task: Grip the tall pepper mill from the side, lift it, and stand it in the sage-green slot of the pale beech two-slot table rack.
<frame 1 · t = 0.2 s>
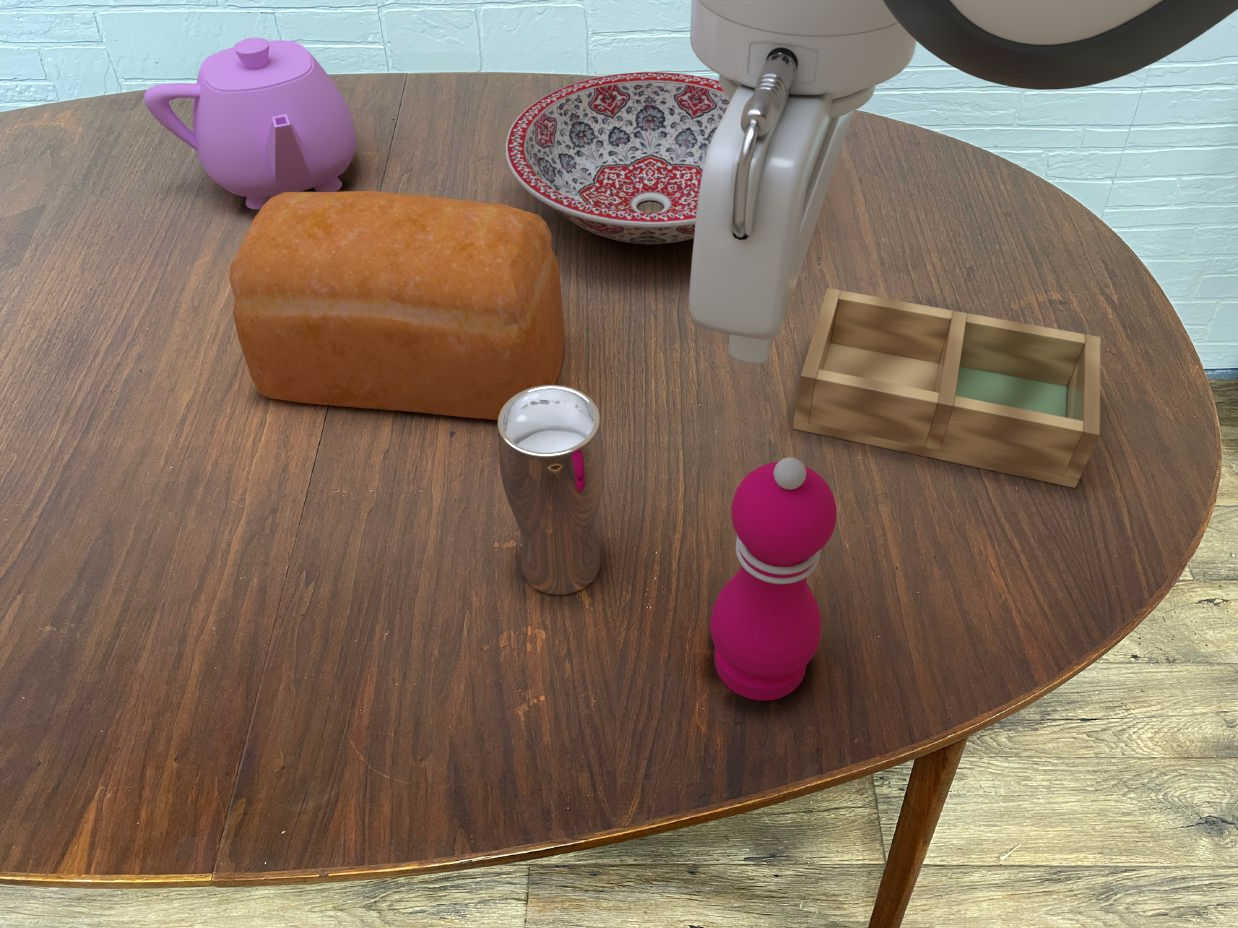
hand: (772, 291, 50), 31 cm above the table, tool pointing down, fingers open, 8 cm apart
ceramic bowl: (650, 210, 110), on the table
teapot: (276, 190, 113), on the table
pepper mill: (759, 663, 72), on the table
bread: (415, 367, 93), on the table
beer glass: (560, 564, 78), on the table
rack: (937, 409, 88), on the table
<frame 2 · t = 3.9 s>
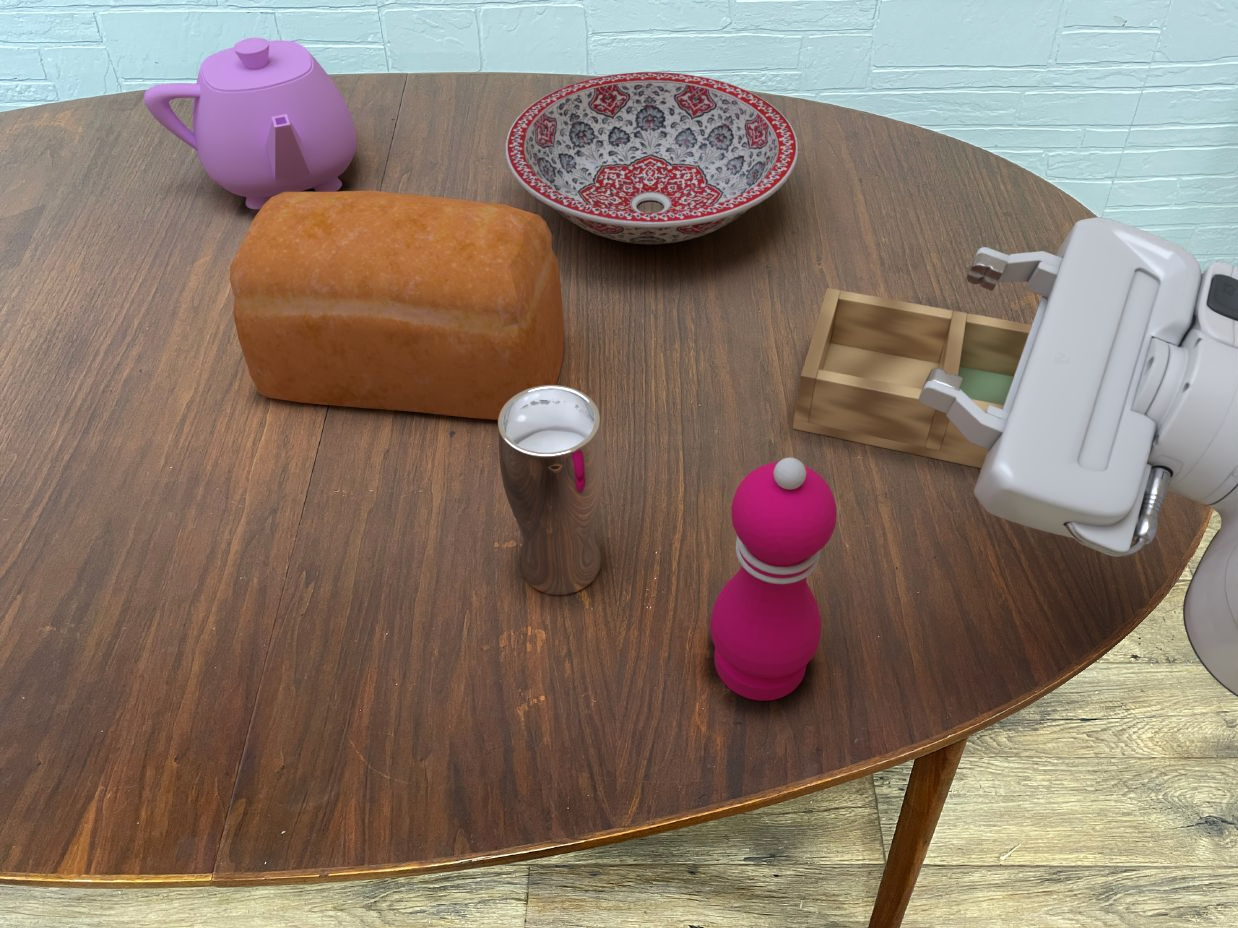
hand: (949, 321, 61), 23 cm above the table, tool horizontal, fingers open, 8 cm apart
nothing on the table moved.
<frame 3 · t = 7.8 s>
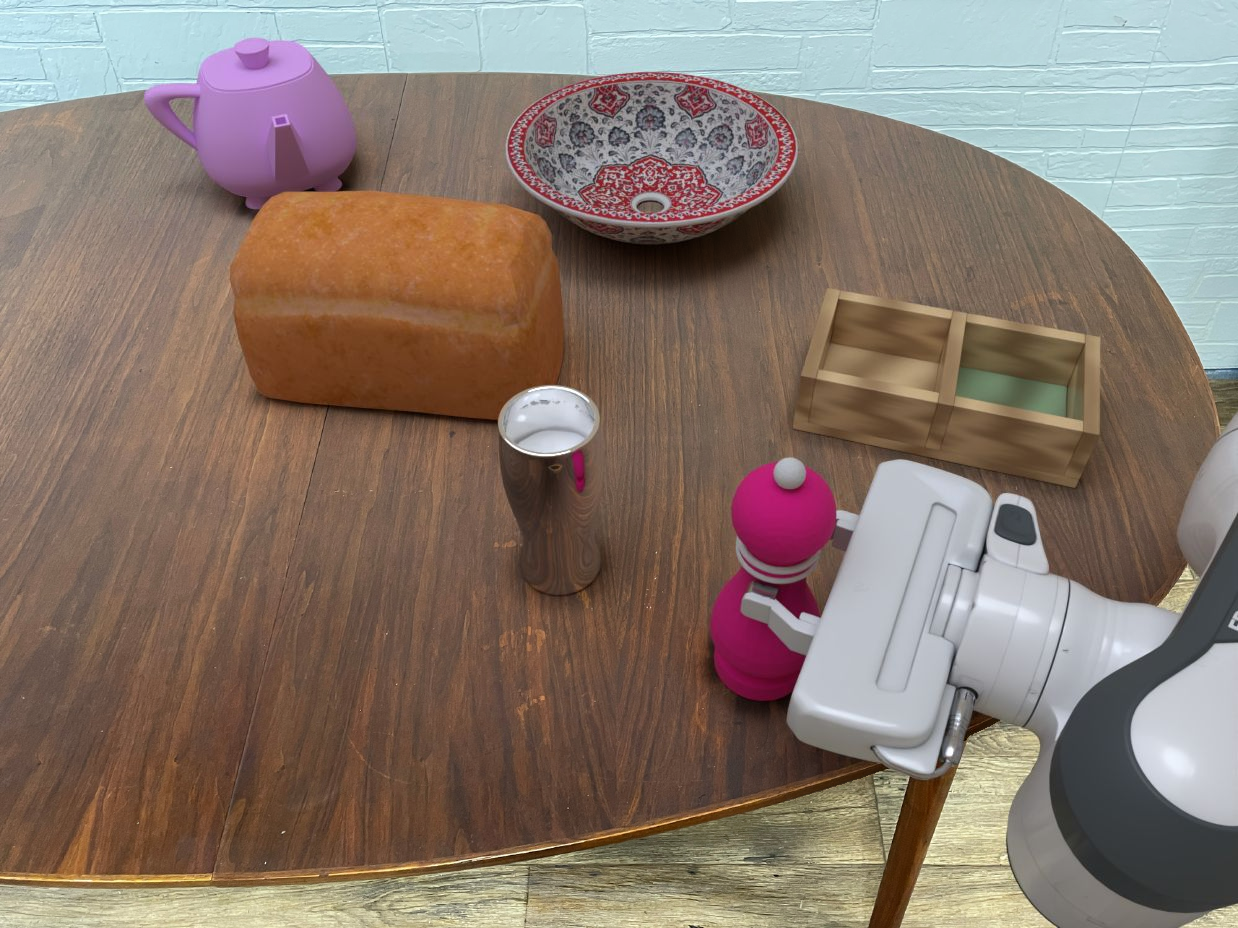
hand: (761, 558, 64), 11 cm above the table, tool horizontal, fingers closed on pepper mill, 5 cm apart
pepper mill: (759, 663, 72), on the table, touching gripper
everything else where it was.
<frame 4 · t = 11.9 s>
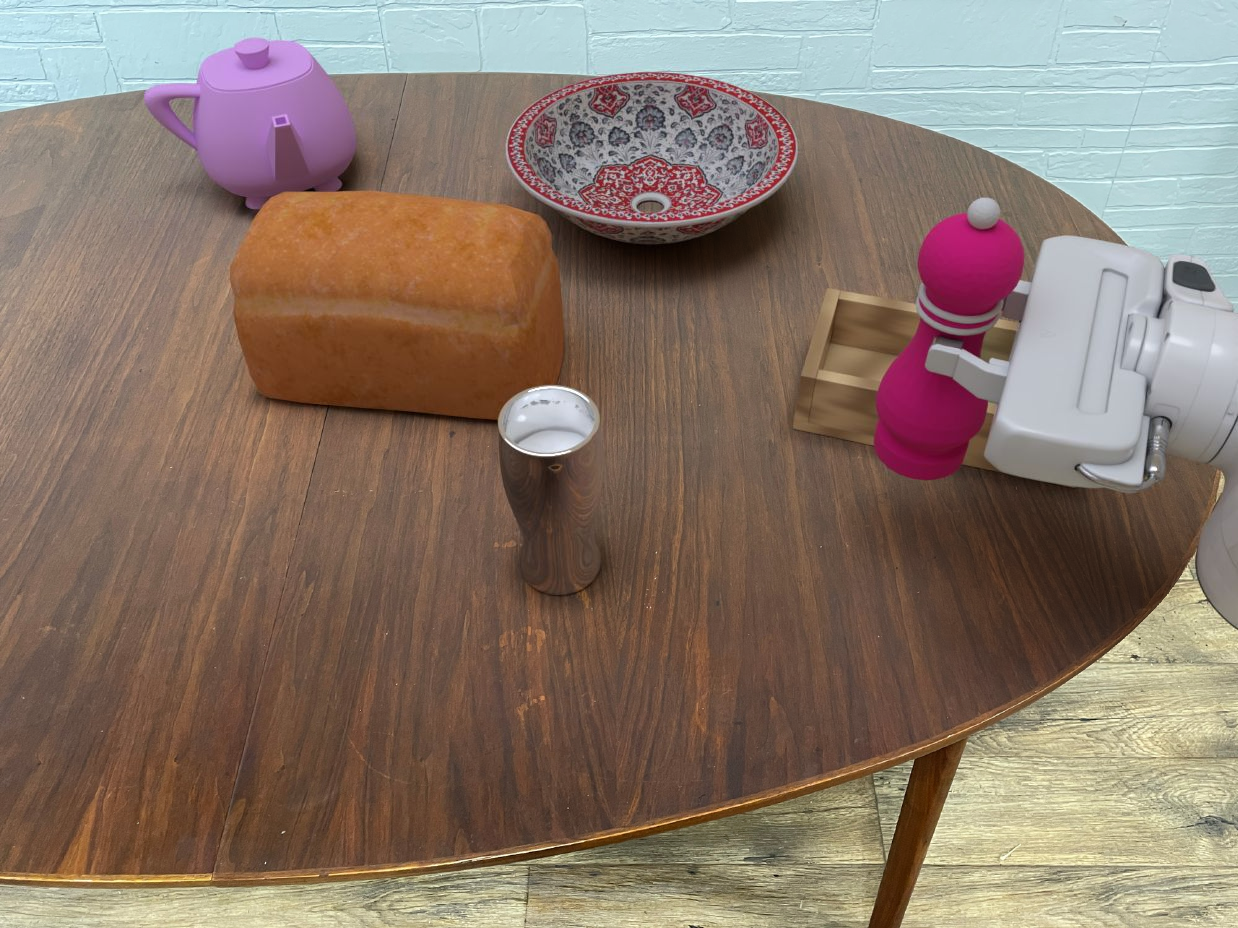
hand: (939, 321, 65), 20 cm above the table, tool horizontal, fingers closed on pepper mill, 5 cm apart
pepper mill: (917, 451, 73), point 9 cm above the table, touching gripper
everything else where it was.
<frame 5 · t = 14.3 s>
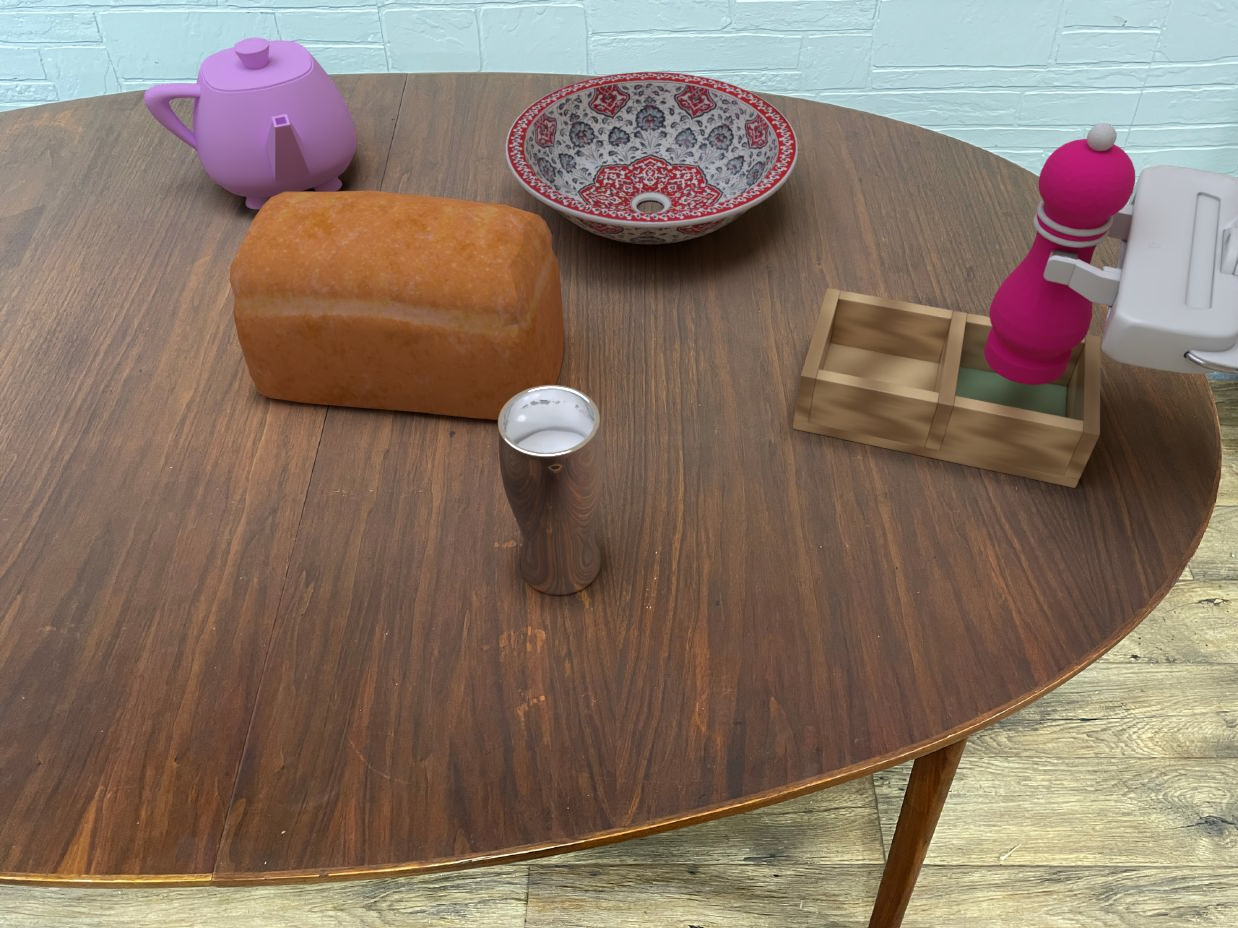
hand: (1053, 239, 74), 18 cm above the table, tool horizontal, fingers closed on pepper mill, 5 cm apart
pepper mill: (1023, 361, 82), point 7 cm above the table, touching gripper
everything else where it was.
when the fingers open (12 cm above the table, at t = 16.3 s): pepper mill stays where it is, resting on rack.
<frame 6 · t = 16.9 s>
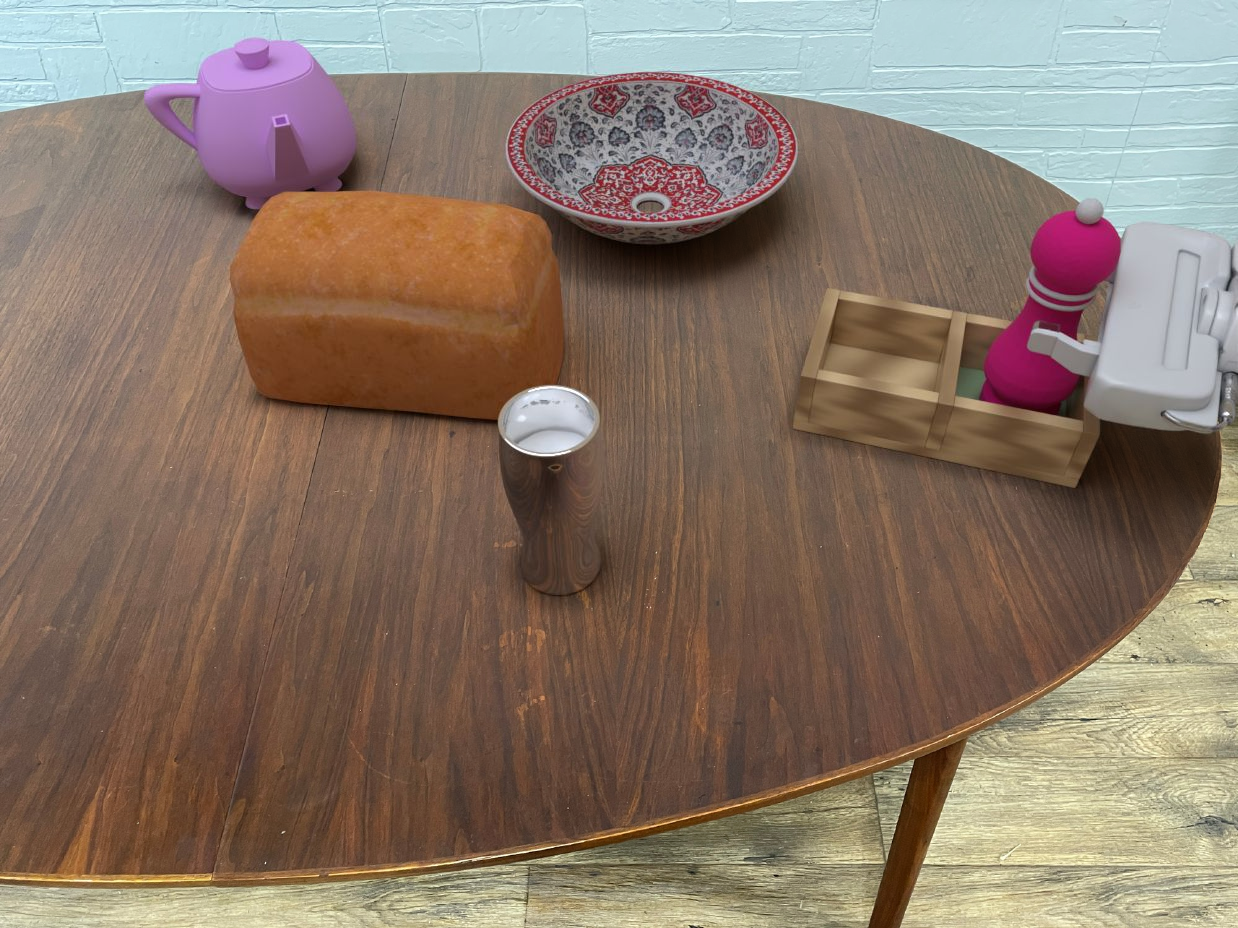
hand: (1040, 296, 78), 13 cm above the table, tool horizontal, fingers open, 8 cm apart
pepper mill: (1015, 411, 87), point 1 cm above the table, touching rack
everything else where it was.
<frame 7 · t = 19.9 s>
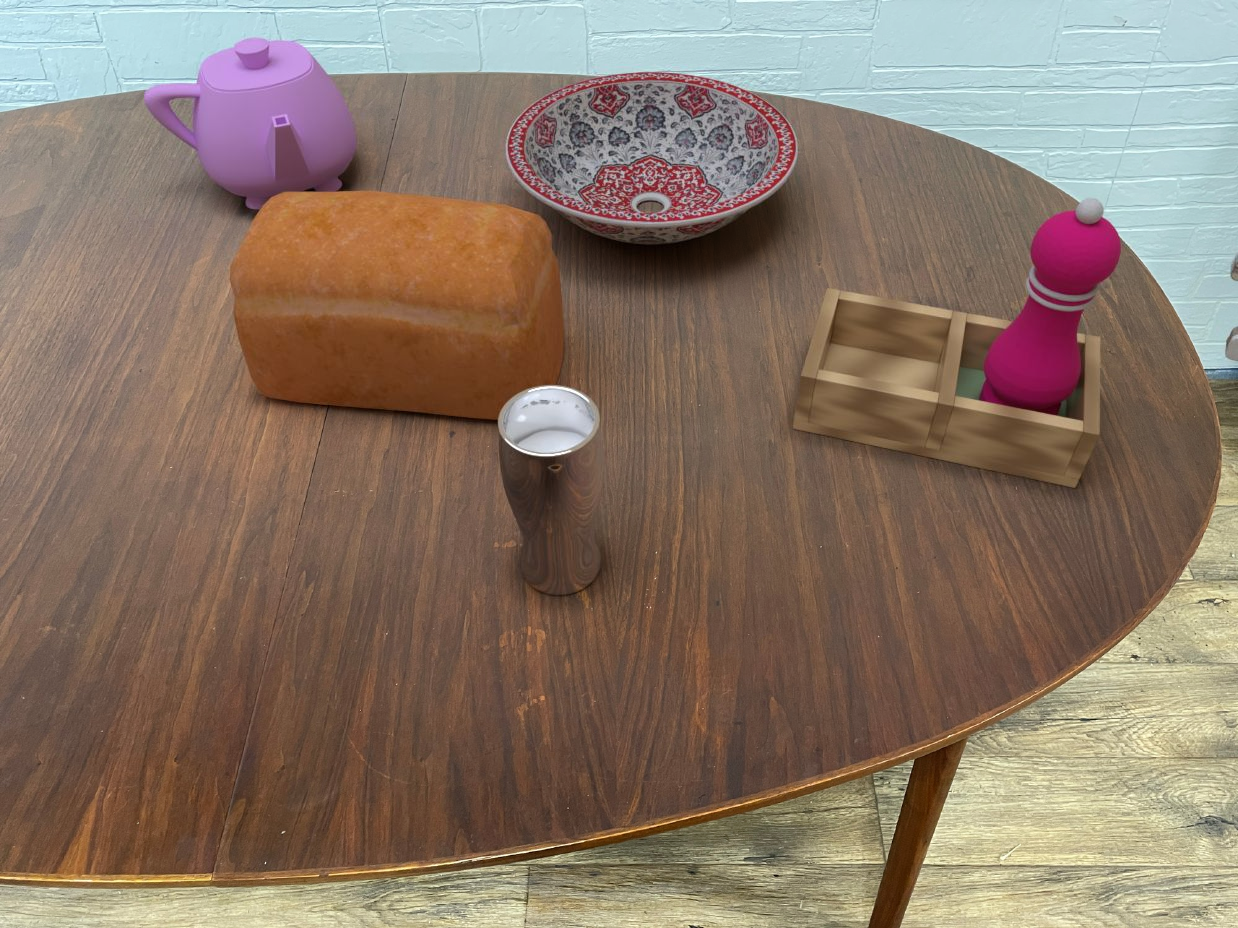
hand: (1231, 300, 72), 16 cm above the table, tool horizontal, fingers open, 8 cm apart
nothing on the table moved.
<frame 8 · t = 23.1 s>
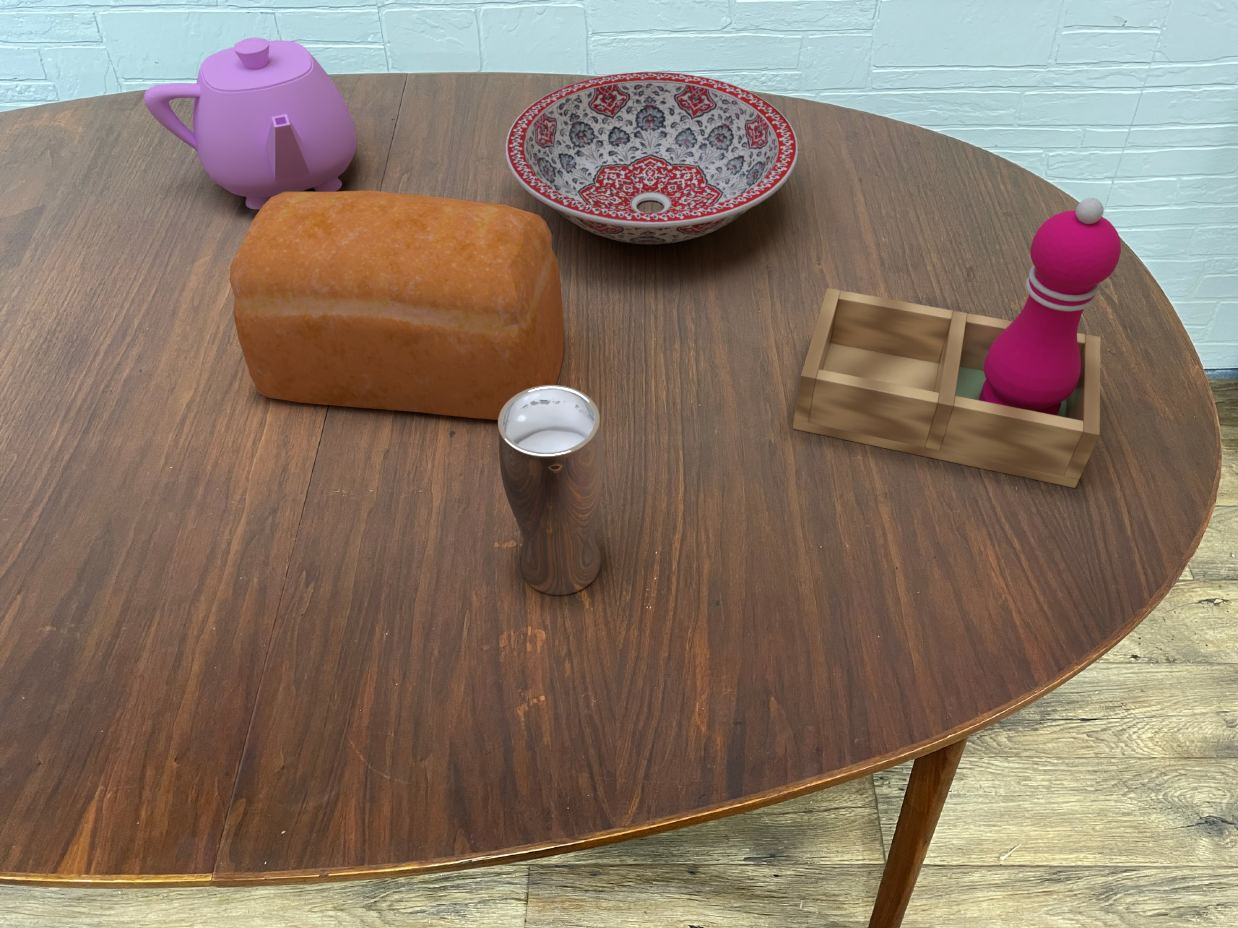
nothing on the table moved.
at the end: pepper mill 1.0 cm from the target spot in the rack, point 1.0 cm above the rack's base; pepper mill tilted 0°; the gripper is holding nothing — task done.
